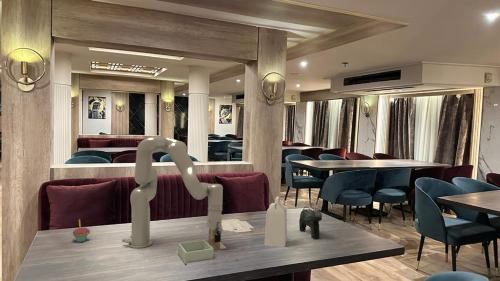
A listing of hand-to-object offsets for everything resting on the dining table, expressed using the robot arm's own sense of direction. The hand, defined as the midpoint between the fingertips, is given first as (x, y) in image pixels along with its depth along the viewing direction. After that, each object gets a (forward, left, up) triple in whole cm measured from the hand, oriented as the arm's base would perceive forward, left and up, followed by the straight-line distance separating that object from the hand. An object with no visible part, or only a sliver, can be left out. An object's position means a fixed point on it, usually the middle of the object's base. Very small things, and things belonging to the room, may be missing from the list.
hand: (214, 239), depth 180 cm
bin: (-13, -8, -5) cm, 16 cm away
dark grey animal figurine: (+62, 0, -6) cm, 62 cm away
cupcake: (-64, +39, -5) cm, 75 cm away
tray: (+27, +33, -6) cm, 43 cm away
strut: (0, 0, -4) cm, 4 cm away
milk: (+36, -4, -6) cm, 37 cm away
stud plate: (0, 0, -5) cm, 5 cm away
